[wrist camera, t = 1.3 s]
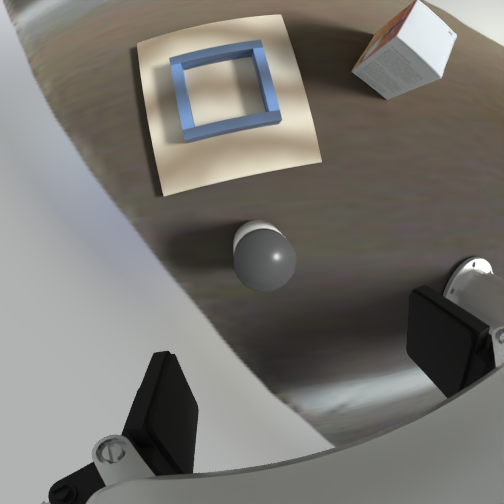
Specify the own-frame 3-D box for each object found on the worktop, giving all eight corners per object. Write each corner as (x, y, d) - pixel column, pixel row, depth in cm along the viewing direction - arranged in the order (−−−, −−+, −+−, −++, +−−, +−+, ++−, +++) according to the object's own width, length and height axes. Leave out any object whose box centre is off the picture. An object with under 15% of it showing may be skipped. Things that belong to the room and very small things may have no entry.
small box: (374, 34, 24) (417, -4, 14) (408, 61, 25) (458, 35, 15) (348, 72, 25) (394, 34, 15) (386, 102, 26) (442, 78, 16)
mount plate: (318, 162, 28) (328, 160, 25) (166, 195, 27) (158, 197, 24) (279, 18, 23) (284, 5, 20) (139, 47, 23) (131, 35, 20)
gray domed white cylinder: (285, 261, 30) (300, 283, 23) (239, 271, 30) (241, 297, 23) (276, 215, 29) (290, 225, 22) (228, 225, 29) (227, 239, 22)
